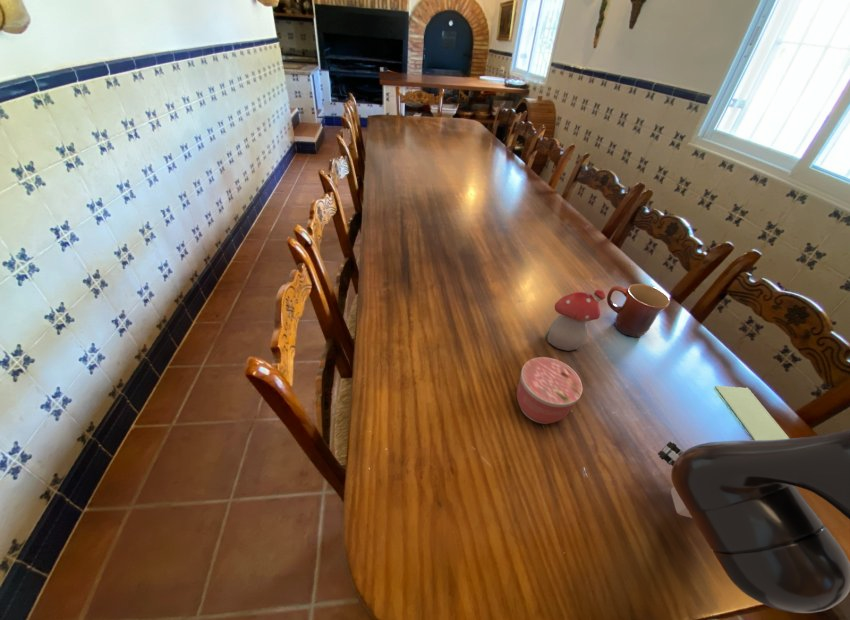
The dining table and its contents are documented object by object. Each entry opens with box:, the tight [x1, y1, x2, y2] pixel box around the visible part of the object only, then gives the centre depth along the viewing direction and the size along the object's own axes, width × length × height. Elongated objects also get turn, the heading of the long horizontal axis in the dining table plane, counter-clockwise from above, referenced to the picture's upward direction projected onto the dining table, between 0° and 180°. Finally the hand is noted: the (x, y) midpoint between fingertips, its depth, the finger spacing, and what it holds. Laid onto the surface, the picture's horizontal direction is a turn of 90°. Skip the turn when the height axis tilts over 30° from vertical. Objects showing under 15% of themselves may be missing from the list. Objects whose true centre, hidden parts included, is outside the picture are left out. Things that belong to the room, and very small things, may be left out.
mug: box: [606, 283, 671, 338], centre depth 84 cm, size 12×9×10 cm
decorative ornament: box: [545, 289, 607, 352], centre depth 76 cm, size 9×7×15 cm
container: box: [516, 356, 583, 425], centre depth 65 cm, size 10×10×8 cm
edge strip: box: [714, 385, 791, 440], centre depth 68 cm, size 16×7×1 cm, turn 179°
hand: (708, 485), depth 52 cm, fingers closed on salt shaker, 5 cm apart
